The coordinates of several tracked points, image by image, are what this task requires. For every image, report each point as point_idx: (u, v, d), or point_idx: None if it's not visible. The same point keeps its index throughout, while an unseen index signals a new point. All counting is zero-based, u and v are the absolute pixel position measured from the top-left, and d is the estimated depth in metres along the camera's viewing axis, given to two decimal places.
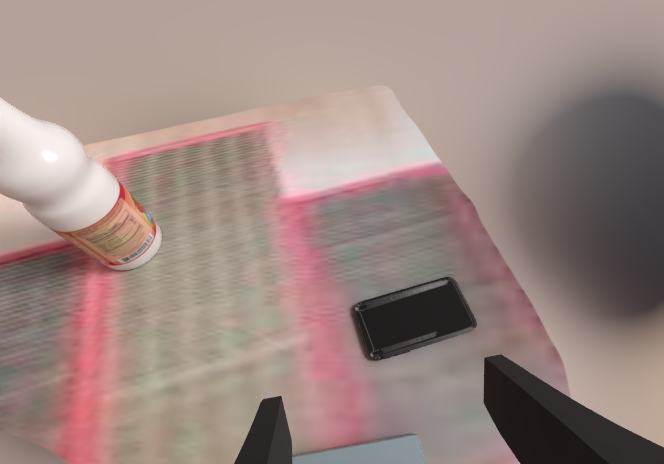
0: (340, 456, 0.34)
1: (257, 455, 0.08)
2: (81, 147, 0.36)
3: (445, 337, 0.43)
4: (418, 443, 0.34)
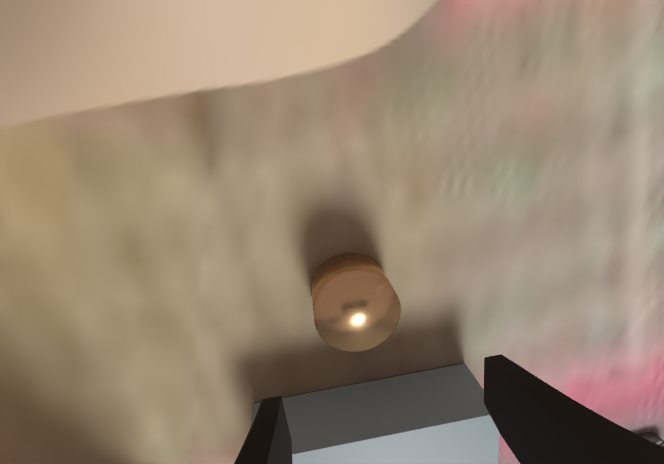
0: None
1: (257, 455, 0.08)
2: None
3: None
4: None
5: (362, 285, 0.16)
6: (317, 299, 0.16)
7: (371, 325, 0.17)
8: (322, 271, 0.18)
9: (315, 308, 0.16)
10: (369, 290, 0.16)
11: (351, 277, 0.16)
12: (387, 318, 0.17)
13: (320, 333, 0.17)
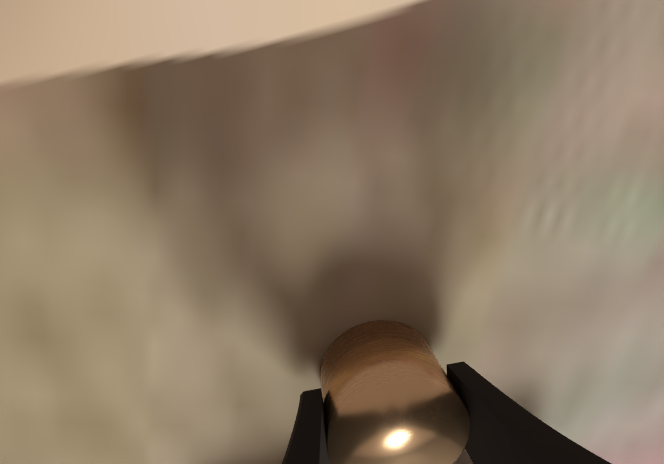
0: None
1: (308, 445, 0.09)
2: None
3: None
4: None
5: (410, 396, 0.09)
6: (333, 417, 0.10)
7: (421, 453, 0.10)
8: (340, 357, 0.11)
9: (329, 432, 0.10)
10: (421, 403, 0.10)
11: (392, 384, 0.09)
12: (447, 442, 0.10)
13: None
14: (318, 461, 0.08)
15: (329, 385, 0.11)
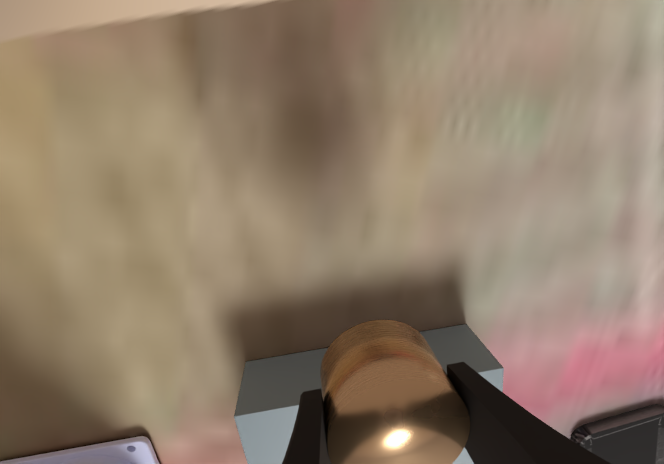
0: None
1: (308, 445, 0.09)
2: None
3: None
4: None
5: (410, 395, 0.09)
6: (333, 416, 0.10)
7: (421, 453, 0.10)
8: (339, 356, 0.11)
9: (329, 431, 0.10)
10: (421, 402, 0.10)
11: (391, 383, 0.09)
12: (447, 441, 0.10)
13: None
14: (318, 461, 0.08)
15: (329, 384, 0.11)
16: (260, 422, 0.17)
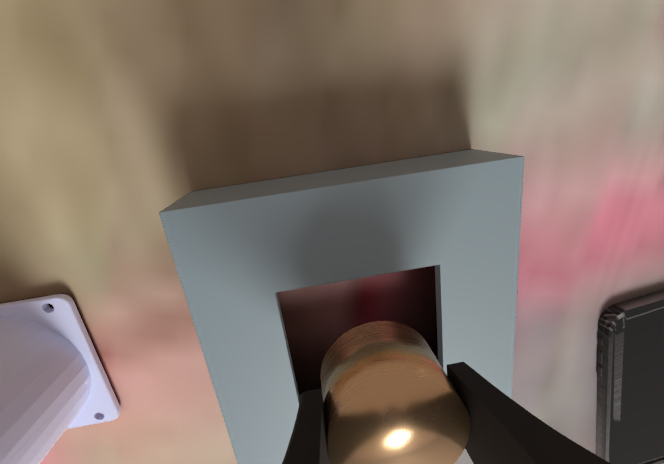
0: (503, 286, 0.15)
1: (308, 445, 0.09)
2: None
3: (606, 433, 0.23)
4: None
5: (410, 396, 0.09)
6: (333, 418, 0.10)
7: (421, 454, 0.10)
8: (340, 357, 0.11)
9: (330, 433, 0.10)
10: (421, 403, 0.10)
11: (392, 385, 0.09)
12: (448, 443, 0.10)
13: None
14: (318, 461, 0.08)
15: (329, 385, 0.11)
16: (196, 223, 0.12)
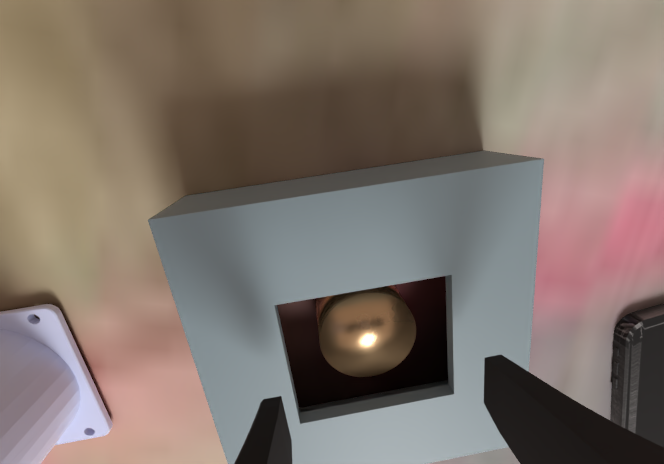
0: (518, 297, 0.14)
1: (257, 455, 0.08)
2: None
3: None
4: None
5: (374, 304, 0.14)
6: (323, 320, 0.14)
7: (383, 348, 0.15)
8: None
9: (320, 330, 0.14)
10: (381, 310, 0.14)
11: (361, 295, 0.14)
12: (401, 340, 0.15)
13: (326, 357, 0.15)
14: None
15: (321, 305, 0.16)
16: (188, 232, 0.11)
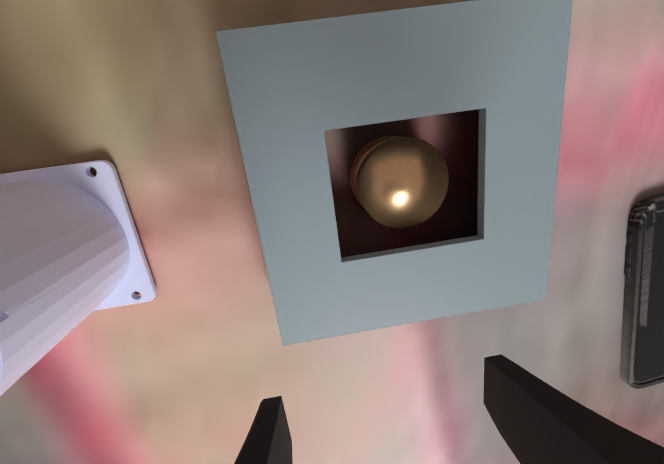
0: (546, 137, 0.15)
1: (257, 455, 0.08)
2: None
3: (632, 339, 0.23)
4: (532, 298, 0.17)
5: (410, 150, 0.15)
6: (363, 166, 0.16)
7: (417, 198, 0.16)
8: (364, 149, 0.17)
9: (361, 175, 0.16)
10: (417, 156, 0.15)
11: (399, 139, 0.15)
12: (434, 191, 0.16)
13: (365, 205, 0.16)
14: None
15: (358, 163, 0.17)
16: (251, 46, 0.12)
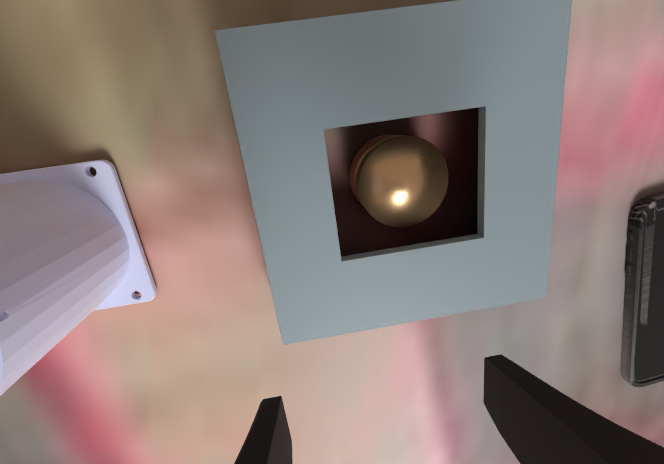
0: (546, 135, 0.15)
1: (257, 455, 0.08)
2: None
3: (633, 338, 0.23)
4: (532, 296, 0.17)
5: (410, 149, 0.15)
6: (362, 165, 0.16)
7: (417, 197, 0.16)
8: (364, 148, 0.17)
9: (360, 174, 0.16)
10: (417, 155, 0.15)
11: (399, 138, 0.15)
12: (434, 189, 0.16)
13: (364, 204, 0.16)
14: None
15: (358, 162, 0.17)
16: (250, 45, 0.12)
